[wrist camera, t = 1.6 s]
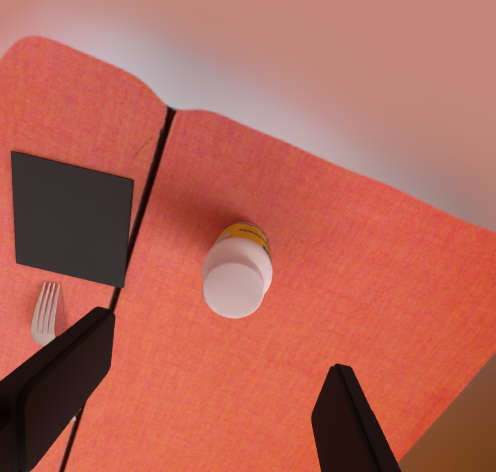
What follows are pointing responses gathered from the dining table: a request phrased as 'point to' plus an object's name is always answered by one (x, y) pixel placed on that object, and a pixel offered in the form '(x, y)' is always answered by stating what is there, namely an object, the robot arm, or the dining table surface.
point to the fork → (46, 335)
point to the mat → (71, 219)
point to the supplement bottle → (237, 270)
